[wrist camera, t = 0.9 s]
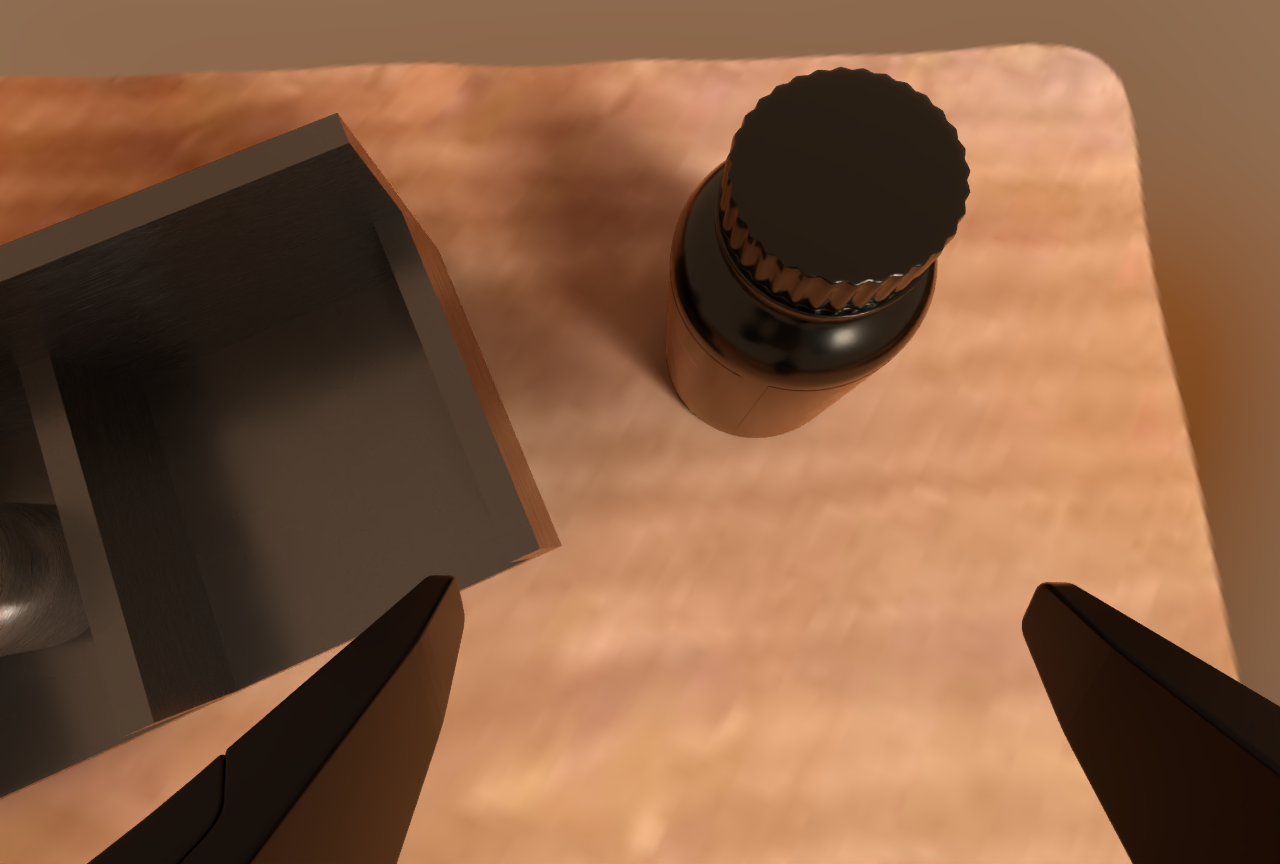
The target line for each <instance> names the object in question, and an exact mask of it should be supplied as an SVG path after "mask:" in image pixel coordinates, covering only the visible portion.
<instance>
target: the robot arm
mask: <svg viewBox="0 0 1280 864" xmlns="http://www.w3.org/2000/svg"><path fill="white" fill-rule="evenodd" d="M463 629H464V609H463V605H462V600H461V595H460V590H459V585H458V581H457V579H456V578H455V577H454V576H451V575H431V576H428V577H426V578H425V579H424V580H422V581H421V582H420V583H419V584H418V585H417V586H415V587H414V588H413V589H412V590H411V591H410V592H408V593H407V594H406V595H405V596H404V597H403V598H402V599H400V600H399V601H398V602H397V603H396V604H395V605H393V606H392V607H391V608H390V609H389V610H388V611H387V612H385V613H384V614H383V615H382V616H381V617H380V618H378V619H377V620H376V621H375V622H374V623H373V624H371V625H370V626H369V627H368V628H367V629H366V630H365V631H363V632H362V633H361V634H360V635H359V636H358V637H356V638H355V639H354V640H353V641H352V642H351V643H349V644H348V645H347V646H346V647H345V648H344V649H343V650H341V651H340V652H339V653H338V654H337V655H336V656H334V657H333V658H332V659H331V660H330V661H329V662H328V663H326V664H325V665H324V666H323V667H322V668H321V669H319V670H318V671H317V672H316V673H315V674H314V675H312V676H311V677H310V678H309V679H308V680H307V681H306V682H304V683H303V684H302V685H301V686H300V687H299V688H297V689H296V690H295V691H294V692H293V693H292V694H290V695H289V696H288V697H287V698H286V699H285V700H284V701H282V702H281V703H280V704H279V705H278V706H277V707H275V708H274V709H273V710H272V711H271V712H270V713H269V714H267V715H266V716H265V717H264V718H263V719H262V720H260V721H259V722H258V723H257V724H256V725H255V726H253V727H252V728H251V729H250V730H249V731H248V732H247V733H245V734H244V735H243V736H242V737H241V738H240V739H238V740H237V741H236V742H235V743H234V744H233V745H231V746H230V747H229V748H228V749H227V751H226V754H225V755H220V756H218V757H217V758H216V759H215V760H214V761H213V762H212V763H210V764H209V765H208V766H207V767H206V768H205V769H203V770H202V771H201V772H200V773H199V774H198V775H196V776H195V777H194V778H193V779H192V780H191V781H189V782H188V783H187V784H186V785H185V786H183V787H182V788H181V789H180V790H179V791H177V792H176V793H175V794H174V795H173V796H171V797H170V798H169V799H168V800H167V801H165V802H164V803H163V804H162V805H161V806H159V807H158V808H157V809H156V810H155V811H153V812H152V813H151V814H150V815H149V816H147V817H146V818H145V819H144V820H142V821H141V822H140V823H139V824H137V825H136V826H135V827H133V828H132V829H131V830H130V831H128V832H127V833H126V834H125V835H123V836H122V837H121V838H119V839H118V840H117V841H116V842H114V843H113V844H112V845H110V846H109V847H108V848H107V849H105V850H104V851H103V852H102V853H100V854H99V855H98V856H96V857H95V858H94V859H93V860H91V861H90V862H89V863H87V864H397V861H398V858H399V855H400V852H401V849H402V846H403V843H404V840H405V837H406V834H407V831H408V828H409V825H410V822H411V819H412V816H413V813H414V810H415V807H416V804H417V801H418V798H419V795H420V792H421V789H422V786H423V783H424V780H425V777H426V774H427V771H428V768H429V765H430V762H431V759H432V756H433V753H434V750H435V747H436V744H437V741H438V738H439V734H440V731H441V728H442V725H443V721H444V717H445V712H446V708H447V704H448V699H449V694H450V690H451V685H452V680H453V676H454V671H455V666H456V662H457V657H458V652H459V648H460V643H461V638H462V634H463ZM1022 632H1023V636H1024V638H1025V641H1026V643H1027V646H1028V648H1029V651H1030V653H1031V656H1032V658H1033V660H1034V663H1035V665H1036V668H1037V670H1038V673H1039V675H1040V677H1041V680H1042V682H1043V685H1044V687H1045V690H1046V692H1047V694H1048V697H1049V699H1050V702H1051V704H1052V707H1053V709H1054V712H1055V714H1056V716H1057V719H1058V721H1059V723H1060V725H1061V728H1062V730H1063V732H1064V734H1065V736H1066V738H1067V740H1068V742H1069V744H1070V746H1071V748H1072V750H1073V752H1074V754H1075V756H1076V758H1077V759H1078V761H1079V763H1080V765H1081V767H1082V769H1083V771H1084V773H1085V775H1086V777H1087V778H1088V780H1089V782H1090V784H1091V786H1092V788H1093V790H1094V792H1095V794H1096V795H1097V797H1098V799H1099V801H1100V803H1101V805H1102V807H1103V809H1104V811H1105V812H1106V814H1107V816H1108V818H1109V820H1110V822H1111V824H1112V826H1113V828H1114V830H1115V831H1116V833H1117V835H1118V837H1119V839H1120V841H1121V843H1122V845H1123V847H1124V848H1125V850H1126V852H1127V854H1128V856H1129V858H1130V860H1131V862H1132V864H1280V706H1278V705H1276V704H1275V703H1273V702H1271V701H1270V700H1268V699H1266V698H1265V697H1263V696H1261V695H1259V694H1258V693H1256V692H1254V691H1253V690H1251V689H1249V688H1248V687H1246V686H1244V685H1243V684H1241V683H1239V682H1238V681H1236V680H1234V679H1233V678H1231V677H1229V676H1227V675H1226V674H1224V673H1222V672H1221V671H1219V670H1217V669H1216V668H1214V667H1212V666H1211V665H1209V664H1207V663H1206V662H1204V661H1202V660H1201V659H1199V658H1197V657H1195V656H1194V655H1192V654H1190V653H1189V652H1187V651H1185V650H1184V649H1182V648H1180V647H1179V646H1177V645H1175V644H1174V643H1172V642H1170V641H1168V640H1167V639H1165V638H1163V637H1162V636H1160V635H1158V634H1157V633H1155V632H1153V631H1152V630H1150V629H1148V628H1147V627H1145V626H1143V625H1142V624H1140V623H1138V622H1136V621H1135V620H1133V619H1131V618H1130V617H1128V616H1126V615H1125V614H1123V613H1121V612H1120V611H1118V610H1116V609H1115V608H1113V607H1111V606H1109V605H1108V604H1106V603H1104V602H1103V601H1101V600H1099V599H1098V598H1096V597H1094V596H1093V595H1091V594H1089V593H1088V592H1086V591H1084V590H1082V589H1081V588H1079V587H1077V586H1076V585H1074V584H1071V583H1062V582H1045V583H1042V584H1040V585H1039V586H1038V587H1037V588H1036V590H1035V593H1034V595H1033V597H1032V599H1031V601H1030V604H1029V606H1028V608H1027V610H1026V612H1025V615H1024V617H1023V620H1022Z"/></svg>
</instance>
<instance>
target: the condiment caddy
mask: <svg viewBox="0 0 1280 864" xmlns="http://www.w3.org/2000/svg"><path fill="white" fill-rule="evenodd" d="M560 546H561V543H560V541H559V538H558V536H557V534H556V531H555V529H554V526H553V524H552V522H551V519H550V517H549V514H548V512H547V510H546V507H545V505H544V502H543V500H542V498H541V495H540V493H539V490H538V488H537V486H536V483H535V481H534V479H533V476H532V474H531V471H530V469H529V467H528V464H527V462H526V459H525V457H524V455H523V452H522V450H521V447H520V445H519V443H518V440H517V438H516V435H515V433H514V431H513V428H512V426H511V423H510V421H509V419H508V416H507V414H506V411H505V409H504V407H503V404H502V402H501V399H500V397H499V395H498V392H497V390H496V387H495V385H494V383H493V380H492V378H491V375H490V373H489V371H488V368H487V366H486V363H485V361H484V359H483V356H482V354H481V351H480V349H479V347H478V344H477V342H476V340H475V337H474V335H473V332H472V330H471V328H470V325H469V323H468V320H467V318H466V316H465V313H464V311H463V308H462V306H461V304H460V301H459V299H458V296H457V294H456V292H455V289H454V287H453V284H452V282H451V280H450V277H449V275H448V272H447V270H446V268H445V265H444V263H443V260H442V258H441V256H440V253H439V251H438V249H437V248H436V246H435V245H434V244H433V242H432V241H431V240H430V238H429V237H428V236H427V234H426V233H425V231H424V230H423V229H422V227H421V226H420V225H419V223H418V222H417V221H416V219H415V218H414V217H413V215H412V214H411V212H410V211H409V210H408V208H407V207H406V206H405V204H404V203H403V202H402V200H401V199H400V197H399V196H398V195H397V193H396V192H395V191H394V189H393V188H392V187H391V185H390V184H389V183H388V181H387V180H386V178H385V177H384V176H383V174H382V173H381V172H380V170H379V169H378V168H377V166H376V165H375V163H374V162H373V161H372V159H371V158H370V157H369V155H368V154H367V153H366V151H365V150H364V149H363V147H362V146H361V144H360V143H359V142H358V140H357V139H356V138H355V136H354V135H353V134H352V132H351V131H350V130H349V128H348V127H347V125H346V124H345V123H344V121H343V120H342V119H341V117H340V116H339V115H338V113H336V114H333V115H331V116H328V117H326V118H323V119H320V120H318V121H315V122H313V123H310V124H308V125H305V126H303V127H300V128H298V129H295V130H293V131H290V132H288V133H285V134H282V135H280V136H277V137H275V138H272V139H270V140H267V141H265V142H262V143H260V144H257V145H255V146H252V147H250V148H247V149H245V150H242V151H239V152H237V153H234V154H232V155H229V156H227V157H224V158H222V159H219V160H217V161H214V162H212V163H209V164H207V165H204V166H201V167H199V168H196V169H194V170H191V171H189V172H186V173H184V174H181V175H179V176H176V177H174V178H171V179H169V180H166V181H163V182H161V183H158V184H156V185H153V186H151V187H148V188H146V189H143V190H141V191H138V192H136V193H133V194H131V195H128V196H126V197H123V198H120V199H118V200H115V201H113V202H110V203H108V204H105V205H103V206H100V207H98V208H95V209H93V210H90V211H88V212H85V213H82V214H80V215H77V216H75V217H72V218H70V219H67V220H65V221H62V222H60V223H57V224H55V225H52V226H50V227H47V228H44V229H42V230H39V231H37V232H34V233H32V234H29V235H27V236H24V237H22V238H19V239H17V240H14V241H12V242H9V243H7V244H4V245H1V246H0V799H2V798H4V797H7V796H9V795H11V794H13V793H15V792H18V791H20V790H22V789H24V788H26V787H29V786H31V785H33V784H35V783H38V782H40V781H42V780H44V779H46V778H49V777H51V776H53V775H55V774H57V773H60V772H62V771H64V770H66V769H68V768H71V767H73V766H75V765H77V764H80V763H82V762H84V761H86V760H88V759H91V758H93V757H95V756H97V755H99V754H102V753H104V752H106V751H108V750H111V749H113V748H115V747H117V746H119V745H122V744H124V743H126V742H128V741H130V740H133V739H135V738H137V737H139V736H142V735H144V734H146V733H148V732H150V731H153V730H155V729H157V728H159V727H161V726H164V725H166V724H168V723H170V722H172V721H175V720H177V719H179V718H181V717H184V716H186V715H188V714H190V713H192V712H195V711H197V710H199V709H201V708H203V707H206V706H208V705H210V704H212V703H215V702H217V701H219V700H221V699H223V698H226V697H228V696H230V695H232V694H234V693H237V692H239V691H241V690H243V689H246V688H248V687H250V686H252V685H254V684H257V683H259V682H261V681H263V680H265V679H268V678H270V677H272V676H274V675H276V674H279V673H281V672H283V671H285V670H288V669H290V668H292V667H294V666H296V665H299V664H301V663H303V662H305V661H307V660H310V659H312V658H314V657H316V656H319V655H321V654H323V653H325V652H327V651H330V650H332V649H334V648H336V647H338V646H341V645H343V644H345V643H347V642H350V641H352V640H354V639H355V638H356V637H358V636H359V635H360V634H361V633H362V632H363V631H365V630H366V629H367V628H368V627H369V626H370V625H371V624H373V623H374V622H375V621H376V620H377V619H378V618H380V617H381V616H382V615H383V614H384V613H385V612H387V611H388V610H389V609H390V608H391V607H392V606H393V605H395V604H396V603H397V602H398V601H399V600H400V599H402V598H403V597H404V596H405V595H406V594H407V593H408V592H410V591H411V590H412V589H413V588H414V587H415V586H417V585H418V584H419V583H420V582H421V581H422V580H424V579H425V578H426V577H428V576H431V575H451V576H454V577H455V578H456V579H457V581H458V585H459V590H460V591H462V590H465V589H467V588H469V587H471V586H473V585H476V584H478V583H480V582H482V581H484V580H487V579H489V578H491V577H493V576H496V575H498V574H500V573H502V572H504V571H507V570H509V569H511V568H513V567H515V566H518V565H520V564H522V563H524V562H527V561H529V560H531V559H533V558H535V557H538V556H540V555H542V554H544V553H546V552H549V551H551V550H553V549H555V548H557V547H560Z"/></svg>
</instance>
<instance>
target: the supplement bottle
mask: <svg viewBox="0 0 1280 864" xmlns="http://www.w3.org/2000/svg"><path fill="white" fill-rule="evenodd" d="M969 173H970V169H969V167H968V165H967V163H966V161H965V148H964V146H963V145H962V144H961V142H960V141H959V140H958V135H957V130H956V128H955V127H954V126H953V125H951V124H950V123H949V122H948V121H947V119H946V117H945V114H944V112H943V111H942V110H941V109H939V108H938V107H936V106H934V105H933V104H932V103H931V101H930V99H929V98H928V97H927V95H924V94H922V93H919V92H916V91H915V90H914V89H913V88H912V87H911V86H910V85H909V84H908V83H905V82H900V81H895V80H894V79H892V78H891V77H890V76H889V75H887V74H874V73H872V72H870V71H868V70H866V69H864V68H863V69H855V70H850V69H847V68H843V67H839V68H836V69H834V70H831V71H827V70H817V71H815V72H813V73H812V74H810V75H803V76H796V77H795V78H793V79H792V80H791V81H790V82H789V83H787V84H782V85H779V86H776V87H775V89H774V90H773V91H772V93H771V94H770V95H768V96H765V97H763V98H761V99H759V101H758V103H757V105H756V107H755V109H754V110H752V111H751V112H749V113H748V114H747V115H745V117H744V119H743V122H742V126H741V128H740V129H739V130H738V131H737V132H736V133H735V135H734V137H733V139H732V144H731V149H730V153H729V155H728V157H727V159H726V160H725V161H724V162H723V163H721V164H720V165H719V166H717V167H716V168H715V169H714V170H713V171H712V172H710V173H709V174H708V175H707V176H706V177H705V178H704V180H703V181H702V182H701V183H700V184H699V185H698V186H697V188H696V189H695V190H694V192H693V193H692V195H691V196H690V198H689V199H688V201H687V203H686V204H685V206H684V208H683V210H682V213H681V215H680V217H679V220H678V223H677V225H676V229H675V233H674V237H673V242H672V248H671V255H670V269H669V289H668V309H667V328H666V360H667V366H668V370H669V374H670V378H671V380H672V383H673V385H674V387H675V389H676V391H677V393H678V395H679V396H680V398H681V400H682V401H683V402H684V403H685V405H686V406H687V407H688V408H689V409H690V410H691V411H692V412H693V413H694V414H695V415H696V416H697V417H698V418H699V419H701V420H702V421H704V422H705V423H707V424H708V425H710V426H712V427H713V428H715V429H718V430H720V431H722V432H725V433H728V434H731V435H735V436H740V437H747V438H766V437H772V436H777V435H781V434H784V433H787V432H790V431H792V430H794V429H797V428H799V427H801V426H802V425H804V424H806V423H807V422H809V421H810V420H812V419H813V418H815V417H816V416H817V415H819V414H820V413H821V412H823V411H824V410H825V409H827V408H828V407H829V406H831V405H832V404H833V403H835V402H836V401H837V400H839V399H840V398H841V397H843V396H844V395H845V394H847V393H848V392H849V391H851V390H852V389H853V388H855V387H856V386H857V385H859V384H860V383H861V382H863V381H864V380H865V379H867V378H868V377H869V376H871V375H872V374H873V373H875V372H876V371H877V370H879V369H880V368H881V367H882V366H884V365H885V364H886V363H888V362H889V361H890V360H891V359H892V358H893V357H894V356H895V355H896V354H897V353H899V351H901V350H902V349H903V348H904V347H905V345H906V344H907V343H908V342H909V341H910V340H911V338H912V337H913V336H914V334H915V333H916V331H917V330H918V328H919V327H920V325H921V323H922V322H923V320H924V318H925V316H926V314H927V311H928V309H929V306H930V304H931V301H932V298H933V294H934V290H935V285H936V279H937V266H938V262H937V258H938V257H939V255H940V254H941V252H942V250H943V248H944V247H945V246H946V245H947V244H948V243H949V242H950V241H951V240H952V239H953V238H954V236H955V234H956V231H957V225H958V223H959V222H960V221H961V219H962V218H963V217H964V215H965V213H966V210H965V201H966V199H967V197H968V195H969V193H970V189H969V185H968V182H967V179H968V176H969Z"/></svg>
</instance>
